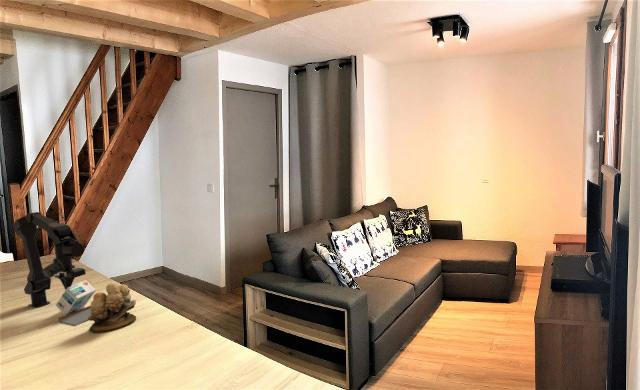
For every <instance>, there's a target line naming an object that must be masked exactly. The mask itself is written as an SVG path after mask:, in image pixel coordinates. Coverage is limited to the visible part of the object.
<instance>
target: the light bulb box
mask: <svg viewBox="0 0 640 390" xmlns="http://www.w3.org/2000/svg"><path fill="white" fill-rule="evenodd" d="M95 293H96V288H94V286H92V284H90V283H89V282H88V281H87V280H86V279H85V280H83V281H81V282H78V283H76V284H72V285H71V287H68V288H67V289H66V290H65V291H64V292H63V294H62V295H61V297H60V298H59V299H58V301H57V302H56V304H55V307H56V308H57V309H58V310H59V311H61V313H62V314H63V316H64V315H67V314H69V313H72V312H75V311H77V310H80V309H83V308H85V307H86V305H87V304H88V302H89V301H90V299H91V298H92V297H93V296H94V295H95Z"/></svg>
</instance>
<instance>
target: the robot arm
mask: <svg viewBox="0 0 640 390" xmlns="http://www.w3.org/2000/svg"><path fill="white" fill-rule="evenodd" d="M12 227H13V230H14V232H15V235H16V236H17V237H19V238H20V240H21V242H22V246H23V249H24V253H25V258H26V261H27V266H28V269H29V272H28V273H27V277H26V280H27V283H26V284H25V286H24V288H23V291H24V294H25V295H29V296H30V301H31V303H30V304H28V305H27V306H28V307H31V308H40V307H42V306H46V305H48V304H51V301H48V299H47V292H46V291H47V290H50V289H51V285H52V284H51V283H52V279H51V278H53V277H54V278H56V279H58V280H59V281H60V282H61V285H62V286H63V288H64V290H65V291H66V289H67V288H68V287H71V286H73V283H74V280H75V278H77V277H79V278H80V277H81V276H85V275H86V273H87V272H86V269H85V268H83V267H76V266H75V265H74V264H73V259H75V258H79V257H81V256H82V255H83V254H84V252H85V247H84V245H83V244H82V243H80V242H79V241H80V240H78V238H77V235H76V234H75V232H74V231H73V229H72V228H71V227H70V225H69V224H67V223H63V222H56V221H54V220H52V219H50V218H49V217H46V216H45V215H43V214H42V212H40V211H36V212H35V211H34V212H29V213H28V214H26V215H24V216H22V217H20V218H18V219H16V220H15V221H14V222H13V223H12ZM38 228H40V229H42V231H43V230H44V231H45V232H47V235H48V237H49V238H50V239H51V240H52V241H51V245H54V246H53V247H54V254H55V255H54V256H55V257H54V258H53V259H52V263H50V264H48V265H47V266H45V267H43V264H42V261H41V256H40V253H39V249H38V248H39V247H38V245H37V244H38V243H37V240H36V235H37V232H38Z"/></svg>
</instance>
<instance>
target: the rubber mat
mask: <svg viewBox="0 0 640 390" xmlns="http://www.w3.org/2000/svg"><path fill="white" fill-rule="evenodd" d="M90 311H91V310H90V309H87V310H84V311H82V312H79V313H77V314H74V315H71V316H69V317H66V318H64V319H61V320H58V319H57V322H58V323H61V324H67V325H70V326H74V327H75V326H78V325H80V324H83V323H85V322H89V320H88V317H89V316H90V315H92V314H91V313H90Z"/></svg>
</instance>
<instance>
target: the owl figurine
mask: <svg viewBox="0 0 640 390" xmlns="http://www.w3.org/2000/svg"><path fill="white" fill-rule="evenodd" d="M105 289H106V290H105V291H106V293H107V294H106V293H105V292H102V291H98V292H95V293H94V294H93V296H92V297H93V300H92V301H91V302H90V305H91V308H90V310H91V311H90V313H91V314H92V315H90V316H89V317H88V322H89V321H90V322H92V321H93V322H92V324H91V326H90V327H89V332H90V333H93V334H102V333H103V334H104V333H108V332H113V331H118V330H120V329H123V328H126V327H128V326H131V325H132V324H133V323H135V322H136V320H137V316H136V315H134V314H133V313H131V312H128V311H131V310H132V309H134V308H135V305H136V302H137V300H135V299H133V300H131V299H132V295H131V294H130V293H131V291H130V288H129V285H127V284H120V285H118V284H117V283H115V282H110V283H108V284H107V285H106V287H105Z"/></svg>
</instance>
